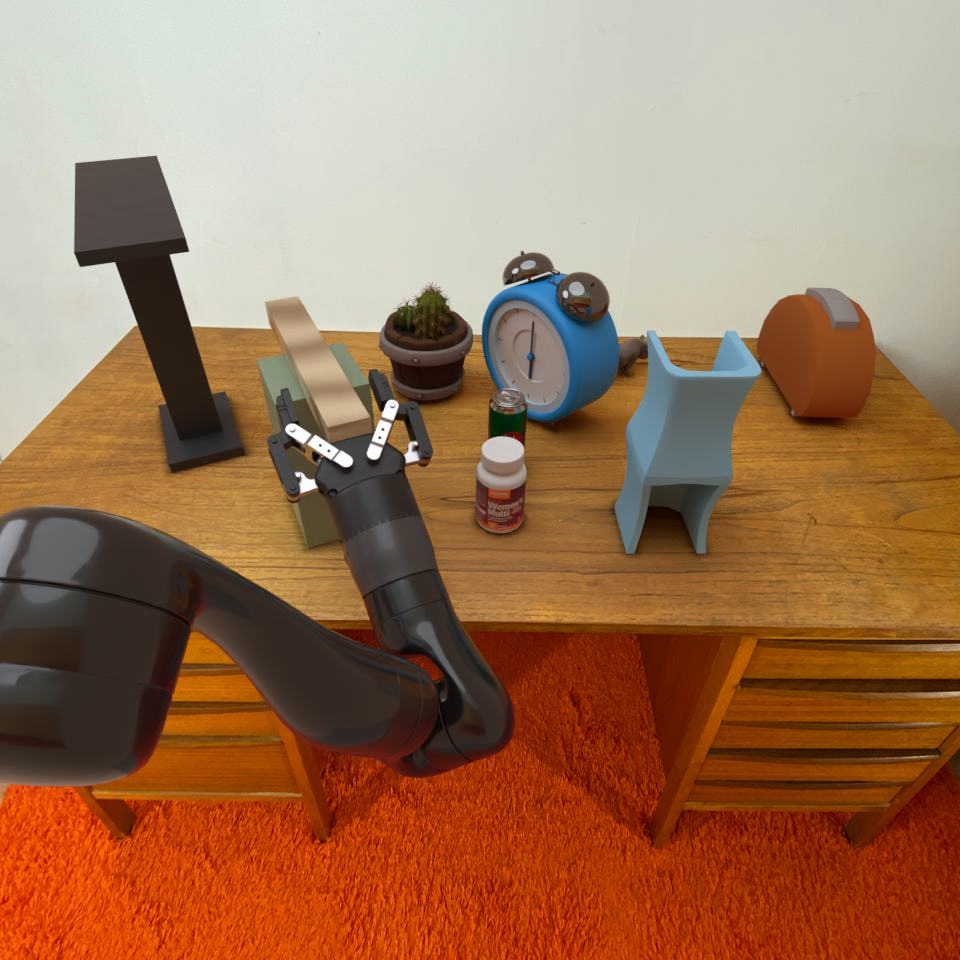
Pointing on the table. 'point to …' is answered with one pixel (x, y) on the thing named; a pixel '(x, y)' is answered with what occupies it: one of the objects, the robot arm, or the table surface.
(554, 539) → the table surface
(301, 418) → the green block
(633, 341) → the rhino figurine
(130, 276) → the stand
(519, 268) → the alarm clock
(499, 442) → the pill bottle
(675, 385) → the blue doll chair
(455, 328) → the flowerpot
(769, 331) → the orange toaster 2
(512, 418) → the soda can
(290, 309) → the ash stick
